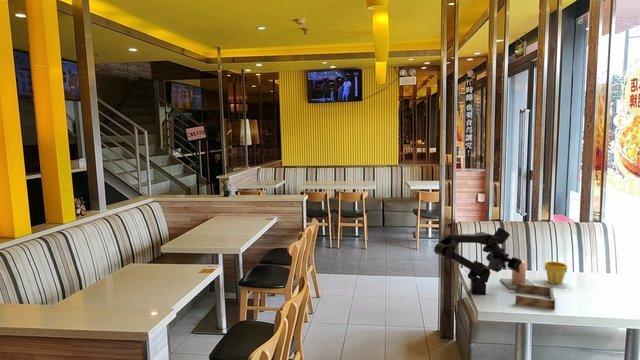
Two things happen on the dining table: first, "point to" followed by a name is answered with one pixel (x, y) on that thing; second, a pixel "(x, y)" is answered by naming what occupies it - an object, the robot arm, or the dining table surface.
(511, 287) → the slate mat
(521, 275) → the candle
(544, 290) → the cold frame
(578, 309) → the dining table surface
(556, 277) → the plant pot
